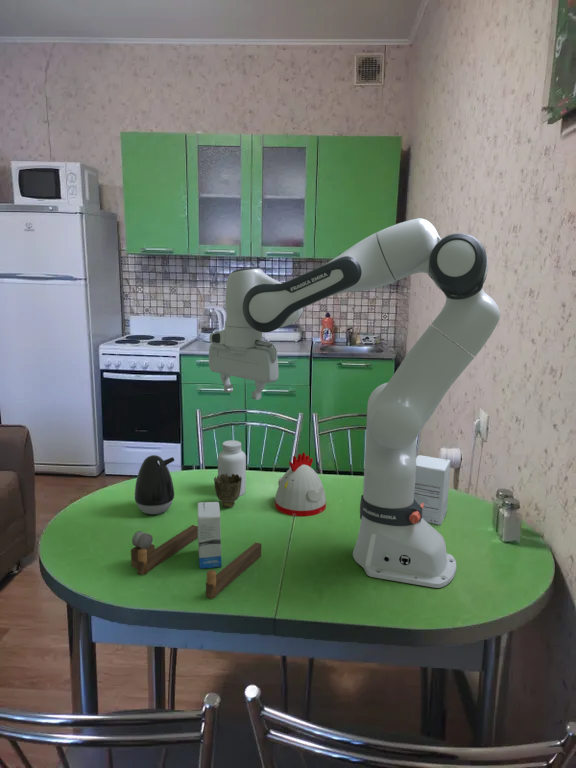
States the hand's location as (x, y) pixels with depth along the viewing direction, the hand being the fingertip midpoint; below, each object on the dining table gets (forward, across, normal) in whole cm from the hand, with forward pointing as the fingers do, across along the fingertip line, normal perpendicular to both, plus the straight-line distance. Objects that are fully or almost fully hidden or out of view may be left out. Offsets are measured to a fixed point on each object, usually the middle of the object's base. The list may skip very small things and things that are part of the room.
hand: (242, 395), depth 132 cm
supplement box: (+32, -33, -37) cm, 59 cm away
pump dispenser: (+34, +22, +9) cm, 42 cm away
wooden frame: (+33, -7, +20) cm, 39 cm away
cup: (+34, +10, -6) cm, 36 cm away
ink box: (+34, -7, +16) cm, 38 cm away
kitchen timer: (+33, -4, -19) cm, 39 cm away
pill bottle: (+34, +16, -13) cm, 39 cm away
